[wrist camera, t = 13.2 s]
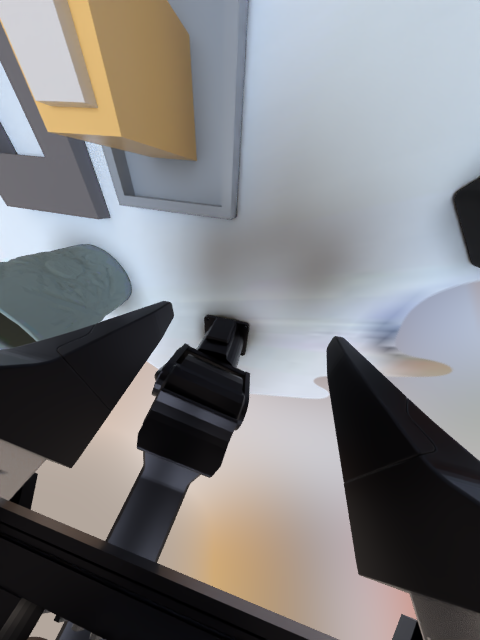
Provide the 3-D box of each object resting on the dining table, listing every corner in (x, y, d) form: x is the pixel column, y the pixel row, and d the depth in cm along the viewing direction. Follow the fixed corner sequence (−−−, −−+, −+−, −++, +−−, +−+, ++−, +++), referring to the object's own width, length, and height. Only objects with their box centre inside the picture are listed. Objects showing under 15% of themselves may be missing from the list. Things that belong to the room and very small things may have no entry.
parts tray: (236, 216, 16) (230, 219, 14) (134, 203, 17) (119, 205, 16) (253, -96, 8) (245, -164, 6) (63, -74, 9) (19, -127, 8)
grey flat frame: (110, 217, 19) (98, 219, 18) (23, 205, 20) (7, 205, 19) (-12, -136, 9) (-58, -186, 8) (-165, -109, 10) (-222, -147, 9)
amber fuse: (196, 161, 14) (110, 133, 7) (152, 157, 14) (33, 128, 8) (189, 35, 10) (4, -255, 4) (130, 36, 11) (-125, -214, 4)
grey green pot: (110, 234, 20) (-42, 273, 11) (149, 306, 26) (71, 371, 17) (53, 243, 23) (-107, 280, 14) (100, 307, 29) (10, 362, 19)
